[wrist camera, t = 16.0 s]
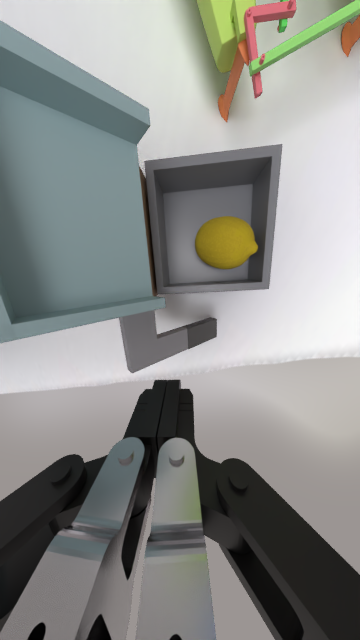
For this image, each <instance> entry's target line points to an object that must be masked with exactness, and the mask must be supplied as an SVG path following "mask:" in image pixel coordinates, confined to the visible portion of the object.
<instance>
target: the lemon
mask: <svg viewBox="0 0 360 640" xmlns="http://www.w3.org/2000/svg"><path fill="white" fill-rule="evenodd" d="M195 249H196V252H197V255H198V256H199V258H200V259H201V260H202V261H203V262H205V263H206V264H208V265H210V266H212V267H215V268H219V269H232V268H236V267H238V266H240V265H242V264H243V263H244V262H246V261H247V259H248V258H249V257H250V256H251V255H252V254H254V253H256V252H257V249H258V245H257V244H256V242H255V236H254V232H253V230H252V228H251V227H250V225H249V224H248V223H247V222H246V221H244V220H242V219H240V218H237V217H233V216H222V217H217V218H213V219H211V220H209V221H207V222H206V223H204V224H203V225H202V226H201V227H200V229H199V230H198V232H197V235H196V238H195Z"/></svg>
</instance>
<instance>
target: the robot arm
mask: <svg viewBox="0 0 360 640" xmlns="http://www.w3.org/2000/svg"><path fill="white" fill-rule="evenodd" d="M154 478H156V485H155V495H154V506H153V516H152V526H151V533H150V536H149V538H148V540H147V545H146V551H145V558H144V567H143V576H142V585H141V594H140V604H139V612H138V621H137V630H136V639H135V640H216V634H215V625H214V615H213V606H212V598H211V588H210V579H209V570H208V562H207V552H206V544H205V537H204V535H205V536H207V537H209V538H210V539H212V540H214V541H216V542H217V543H219V546H220V547H221V549H222V551H223V553H224V554H225V556H226V558H227V560H228V561H229V563H230V565H231V566H232V568H233V569H234V571H235V573H236V575H237V576H238V578H239V580H240V581H241V583H242V585H243V587H244V588H245V590H246V591H247V593H248V595H249V597H250V598H251V600H252V602H253V603H254V605H255V607H256V608H257V610H258V612H259V613H260V615H261V617H262V618H263V620H264V622H265V623H266V625H267V627H268V628H269V630H270V632H271V633H272V635H273V637H274V639H275V640H360V575H359V574H358V573H357V572H356V571H355V570H354V569H353V568H352V567H351V566H350V565H349V564H348V563H347V562H346V561H345V560H344V559H343V558H342V557H341V556H340V555H339V554H338V553H337V552H336V551H335V550H334V549H333V548H332V547H331V546H330V545H329V544H328V543H327V542H326V541H325V540H324V539H323V538H322V537H321V536H320V535H319V534H318V533H317V532H316V531H315V530H314V529H313V528H312V527H311V526H310V525H309V524H308V523H307V522H306V521H305V520H304V519H303V518H302V517H301V516H300V515H299V514H298V513H297V512H296V511H295V510H294V509H293V508H292V507H291V506H290V505H289V504H288V503H287V502H286V501H285V500H284V499H283V498H282V497H281V496H280V495H279V494H277V492H276V491H274V489H273V488H271V486H269V484H268V483H266V482H265V480H264V479H263V478H262V477H261V476H260V475H258V474H257V473H256V472H255V471H254V470H253V469H252V468H251V467H250V466H249V465H248V464H247V463H245V462H244V461H241V460H239V459H235V458H231V459H227V460H224V461H223V462H222V463H221V464H220V463H218V462H215V461H213V460H210V459H208V458H206V457H205V456H204V455H202V454H201V453H200V451H199V450H198V448H197V447H196V444H195V439H194V411H193V395H192V393H191V391H190V389H181V382H180V380H155V382H154V385H153V388H152V389H146V390H145V391H144V392H143V393H142V394H141V395H140V397H139V399H138V402H137V405H136V407H135V409H134V412H133V414H132V417H131V419H130V422H129V425H128V427H127V430H126V432H125V435H124V437H123V439H122V440H121V441H119V442H118V443H117V444H116V445H114V446H113V448H112V449H111V451H110V452H109V454H108V455H106V456H104V457H101V458H98V459H95V460H92V461H89V462H86V463H84V461H83V458H81V456H79V455H75V454H73V455H67V456H65V457H63V458H61V459H59V460H57V461H56V462H55V463H53V464H52V465H50V466H49V467H48V468H46V469H45V470H43V471H42V472H41V473H39V474H38V475H36V476H35V477H34V478H32V479H31V480H29V481H28V482H27V483H25V484H24V485H22V486H21V487H20V488H18V489H17V490H15V491H14V492H13V493H11V494H10V495H8V496H7V497H6V498H5V499H3V500H2V501H0V640H126V635H127V630H128V624H129V619H130V612H131V603H132V590H133V583H134V577H135V573H136V568H137V563H138V559H139V554H140V550H141V545H142V541H143V536H144V531H145V527H146V522H147V518H148V513H149V509H150V504H151V491H152V485H153V479H154Z"/></svg>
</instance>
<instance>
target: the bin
mask: <svg viewBox="0 0 360 640" xmlns="http://www.w3.org/2000/svg"><path fill="white" fill-rule="evenodd" d="M281 153H282V144H279V145H271V146H263V147H255V148H247V149H239V150H230V151H222V152H214V153H206V154H198V155H190V156H182V157H174V158H166V159H158V160H149V161H145V171H146V182H147V192H148V202H149V213H150V223H151V233H152V243H153V254H154V264H155V274H156V285H157V294H177V293H197V292H218V291H238V290H259V289H269V282H270V272H271V261H272V250H273V239H274V229H275V218H276V207H277V196H278V186H279V175H280V164H281ZM222 216H233V217H237V218H240V219H242V220H244V221H246V222H247V223H248V224H249V225H250V227H251V228H252V230H253V232H254V236H255V242H256V244H257V245H258V249H257V252H256V253H254V254H252V255H251V256H250V257H249V258H248V259H247V261H246V262H244V263H243V264H242V265H240V266H238V267H236V268H232V269H219V268H215V267H212V266H210V265H208V264H206V263H205V262H203V261H202V260H201V259H200V258H199V256H198V255H197V252H196V249H195V238H196V235H197V232H198V230H199V229H200V227H201V226H202V225H203V224H204V223H206V222H207V221H209V220H211V219H213V218H217V217H222Z"/></svg>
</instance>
